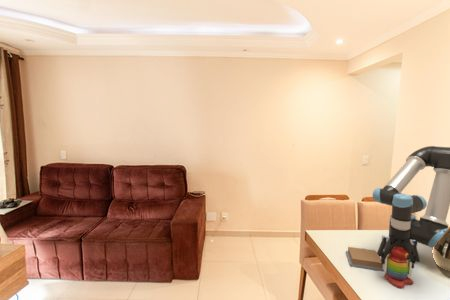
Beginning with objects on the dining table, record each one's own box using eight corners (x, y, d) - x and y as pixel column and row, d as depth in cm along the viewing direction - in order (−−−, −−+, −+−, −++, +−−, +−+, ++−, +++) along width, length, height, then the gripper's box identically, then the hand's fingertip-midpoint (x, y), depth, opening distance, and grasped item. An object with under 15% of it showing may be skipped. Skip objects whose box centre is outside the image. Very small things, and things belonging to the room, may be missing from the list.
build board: (377, 257, 138) (377, 250, 138) (384, 271, 125) (385, 264, 124) (345, 252, 143) (346, 246, 142) (350, 266, 130) (350, 258, 129)
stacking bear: (400, 289, 111) (403, 252, 109) (378, 277, 121) (381, 242, 119) (414, 283, 116) (418, 247, 114) (392, 271, 125) (395, 238, 123)
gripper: (424, 227, 116) (420, 271, 118) (371, 221, 122) (368, 263, 125) (432, 233, 108) (427, 281, 111) (375, 227, 115) (372, 272, 118)
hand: (396, 272), depth 118 cm, fingers closed on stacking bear, 9 cm apart
